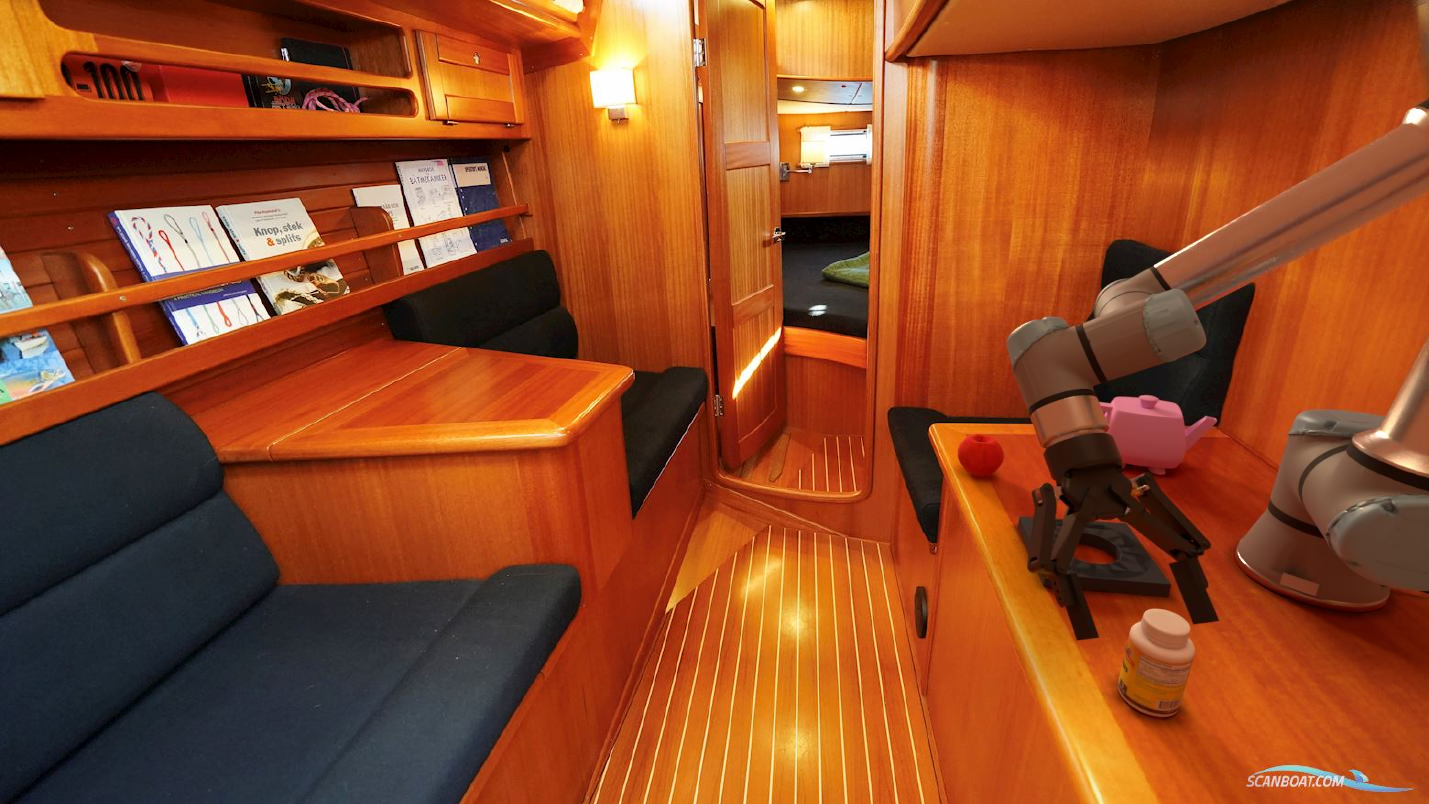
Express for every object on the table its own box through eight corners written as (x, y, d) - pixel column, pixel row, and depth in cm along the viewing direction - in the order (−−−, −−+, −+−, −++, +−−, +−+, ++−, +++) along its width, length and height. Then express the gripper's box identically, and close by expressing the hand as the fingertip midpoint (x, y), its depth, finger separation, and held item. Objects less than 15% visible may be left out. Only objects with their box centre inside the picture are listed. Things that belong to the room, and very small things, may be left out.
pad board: (1124, 534, 96) (1126, 522, 96) (1168, 597, 83) (1172, 584, 82) (1017, 527, 100) (1019, 516, 99) (1043, 586, 86) (1045, 574, 85)
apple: (948, 464, 120) (952, 428, 118) (991, 463, 120) (996, 427, 117) (962, 484, 113) (966, 446, 110) (1008, 483, 113) (1013, 445, 110)
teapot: (1076, 465, 118) (1087, 401, 113) (1076, 440, 128) (1086, 380, 124) (1209, 486, 109) (1227, 417, 104) (1198, 457, 119) (1214, 393, 115)
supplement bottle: (1125, 671, 71) (1143, 595, 68) (1184, 698, 68) (1207, 620, 64) (1108, 699, 68) (1126, 621, 64) (1170, 729, 64) (1193, 648, 61)
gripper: (1149, 443, 80) (1225, 619, 71) (962, 462, 77) (1018, 648, 69) (1195, 420, 73) (1285, 612, 65) (991, 439, 70) (1057, 643, 62)
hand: (1147, 631), depth 67 cm, fingers open, 13 cm apart
